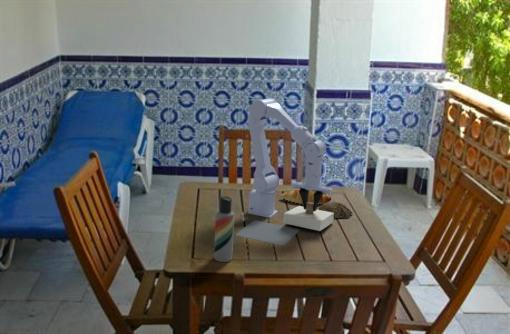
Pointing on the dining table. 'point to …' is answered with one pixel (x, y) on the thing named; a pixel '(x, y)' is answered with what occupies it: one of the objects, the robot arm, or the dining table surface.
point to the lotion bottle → (224, 230)
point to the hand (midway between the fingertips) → (310, 209)
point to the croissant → (296, 197)
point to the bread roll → (336, 209)
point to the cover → (308, 217)
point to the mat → (268, 232)
